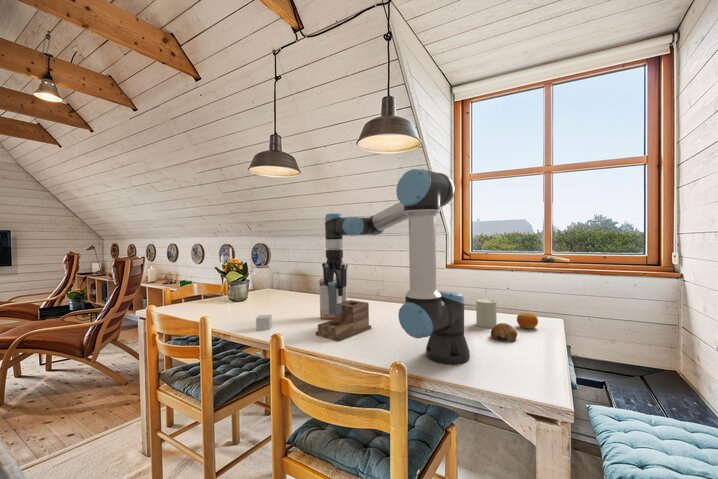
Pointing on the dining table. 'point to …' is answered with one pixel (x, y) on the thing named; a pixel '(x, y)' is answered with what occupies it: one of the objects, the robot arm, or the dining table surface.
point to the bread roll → (503, 332)
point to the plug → (333, 300)
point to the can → (486, 313)
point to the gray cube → (263, 322)
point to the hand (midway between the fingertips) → (335, 302)
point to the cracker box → (325, 299)
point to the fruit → (527, 320)
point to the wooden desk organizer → (347, 322)
